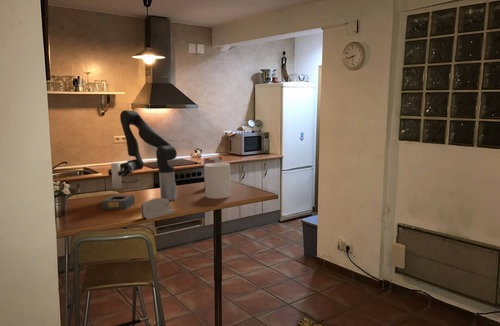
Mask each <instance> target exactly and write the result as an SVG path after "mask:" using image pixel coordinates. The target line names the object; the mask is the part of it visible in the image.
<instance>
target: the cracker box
mask: <svg viewBox="0 0 500 326" xmlns="http://www.w3.org/2000/svg"><path fill="white" fill-rule="evenodd" d="M209 163H223V156H221V155H212V156H209V157H203V166H204V165H205V164H209ZM203 176H204V177H203V179H204V181H203V182H205V168H204V167H203Z"/></svg>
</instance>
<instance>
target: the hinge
mask: <svg viewBox="0 0 500 326" xmlns="http://www.w3.org/2000/svg"><path fill="white" fill-rule="evenodd" d="M140 210H141V211H140V212H141V218H142V219H145V218H146V220H151V219H152V220H153V219H155V218H159V217H160V218H161V217H164V216H165V217H166V216H169V215H174V214H175V212H174V209H173V208H172V206H171V203H170V201H169V200H168V199H165V198H161V197H160V198H159V197H158V198H157V197H156V198H152V199H149V200H147V201H145V202H144V203H142V204H141V205H140Z"/></svg>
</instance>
